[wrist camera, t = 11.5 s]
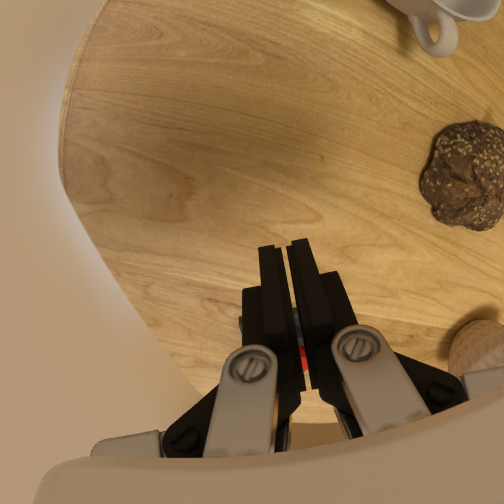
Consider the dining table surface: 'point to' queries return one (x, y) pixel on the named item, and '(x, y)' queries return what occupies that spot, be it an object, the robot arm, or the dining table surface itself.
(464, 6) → the teacup
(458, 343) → the vase
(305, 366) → the red push button
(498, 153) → the bread roll
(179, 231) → the dining table surface
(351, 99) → the dining table surface
